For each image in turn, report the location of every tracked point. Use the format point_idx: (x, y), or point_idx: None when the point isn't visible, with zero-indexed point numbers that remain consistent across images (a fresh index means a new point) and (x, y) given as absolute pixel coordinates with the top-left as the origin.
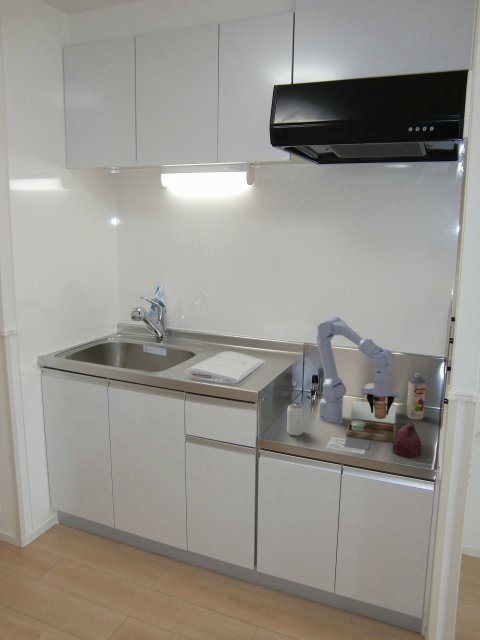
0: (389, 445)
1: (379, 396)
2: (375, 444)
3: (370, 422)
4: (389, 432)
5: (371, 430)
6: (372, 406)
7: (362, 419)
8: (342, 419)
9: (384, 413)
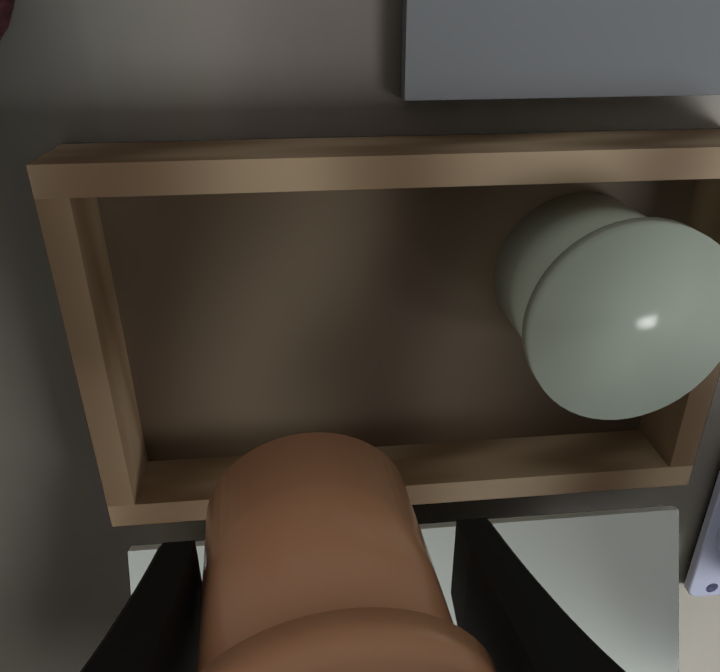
0: (119, 53)
1: None
2: (320, 20)
3: (432, 499)
4: (185, 404)
5: (402, 386)
6: (524, 636)
7: (536, 520)
8: (715, 522)
9: (222, 546)
